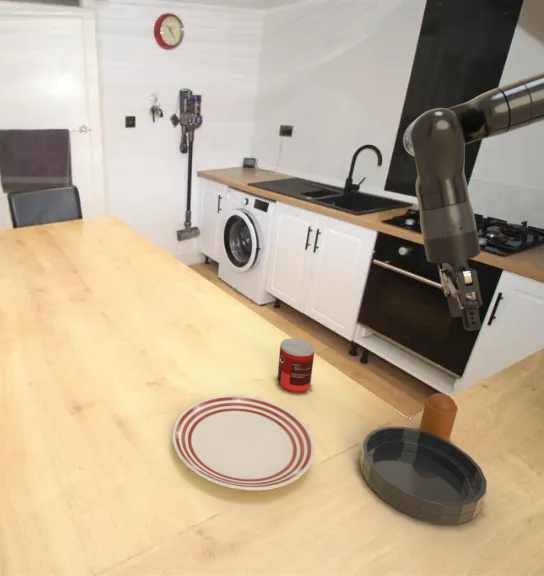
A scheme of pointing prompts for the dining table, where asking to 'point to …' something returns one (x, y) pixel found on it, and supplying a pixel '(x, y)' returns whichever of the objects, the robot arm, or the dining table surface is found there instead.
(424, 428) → the orange round-topped cylinder
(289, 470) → the dinner plate
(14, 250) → the dining table surface
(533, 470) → the dining table surface
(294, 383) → the canned food
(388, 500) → the shallow round tray
